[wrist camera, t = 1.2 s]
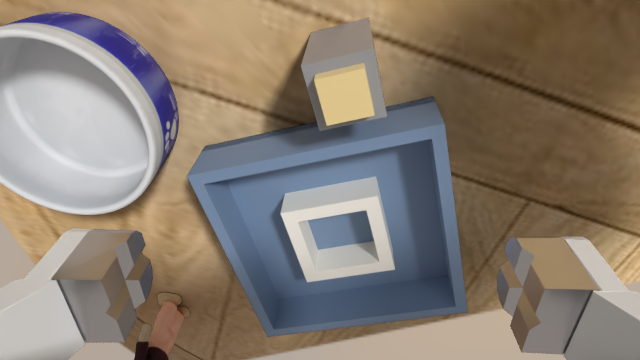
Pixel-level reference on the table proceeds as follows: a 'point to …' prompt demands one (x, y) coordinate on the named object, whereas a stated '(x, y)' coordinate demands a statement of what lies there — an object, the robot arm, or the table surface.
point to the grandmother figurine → (161, 329)
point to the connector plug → (343, 75)
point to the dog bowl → (81, 114)
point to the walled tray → (339, 220)
